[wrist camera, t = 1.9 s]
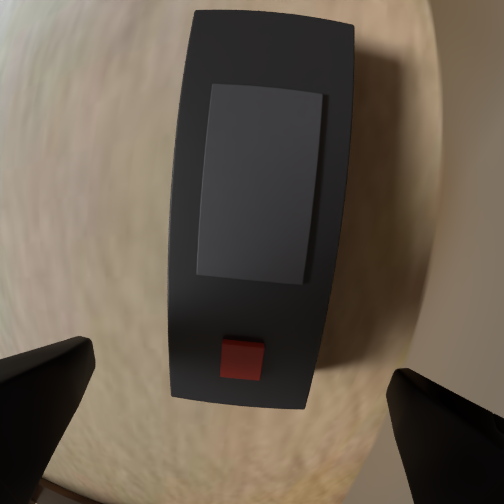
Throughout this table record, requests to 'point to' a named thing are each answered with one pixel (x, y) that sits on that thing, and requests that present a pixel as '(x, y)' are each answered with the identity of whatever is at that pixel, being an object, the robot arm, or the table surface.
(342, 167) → the remote
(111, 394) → the table surface
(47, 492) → the shelf
